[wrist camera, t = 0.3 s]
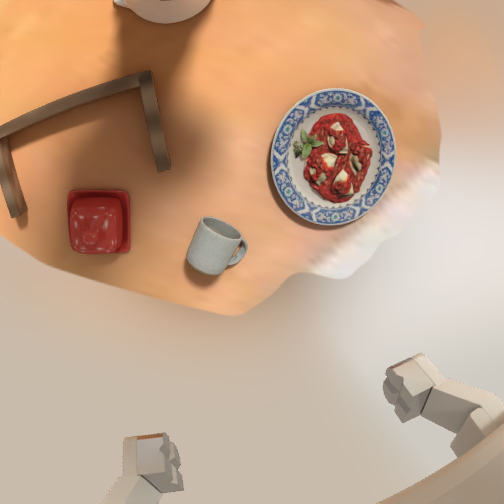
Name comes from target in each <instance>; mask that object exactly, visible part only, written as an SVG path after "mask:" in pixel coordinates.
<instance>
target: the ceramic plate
mask: <svg viewBox="0 0 504 504" xmlns="http://www.w3.org/2000/svg"><path fill="white" fill-rule="evenodd" d="M395 164H396V143H395V138H394V134H393V131H392V128H391V125H390V123H389V121H388V119H387V118H386V116H385V114H384V113H383V112H382V110H381V109H380V108H379V107H378V106H377V105H376V104H375V103H374V102H373V101H372V100H370V99H369V98H367V97H366V96H364V95H362V94H360V93H358V92H355V91H352V90H348V89H342V88H330V89H324V90H319V91H317V92H314V93H312V94H310V95H307V96H306V97H304V98H302V99H301V100H300V101H298V102H297V103H296V104H295V105H294V106H293V107H292V108H291V109H290V110H289V111H288V112H287V113H286V115H285V116H284V118H283V119H282V121H281V122H280V124H279V126H278V128H277V131H276V133H275V136H274V139H273V143H272V149H271V170H272V176H273V180H274V183H275V186H276V188H277V191H278V193H279V194H280V196H281V198H282V199H283V201H284V202H285V204H286V205H287V206H288V207H289V208H290V209H291V210H292V211H293V212H294V213H296V214H297V215H298V216H300V217H301V218H303V219H305V220H307V221H309V222H312V223H315V224H320V225H341V224H345V223H349V222H351V221H354V220H356V219H358V218H360V217H362V216H363V215H365V214H366V213H367V212H369V211H370V210H371V209H372V208H373V207H374V206H375V205H376V204H377V203H378V202H379V201H380V199H381V198H382V197H383V195H384V194H385V192H386V190H387V189H388V187H389V185H390V182H391V180H392V177H393V173H394V170H395Z"/></svg>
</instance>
